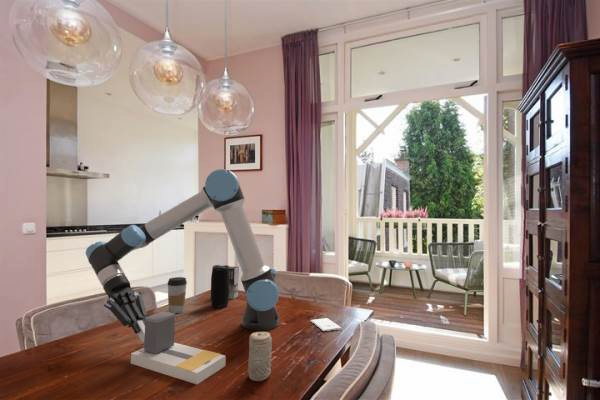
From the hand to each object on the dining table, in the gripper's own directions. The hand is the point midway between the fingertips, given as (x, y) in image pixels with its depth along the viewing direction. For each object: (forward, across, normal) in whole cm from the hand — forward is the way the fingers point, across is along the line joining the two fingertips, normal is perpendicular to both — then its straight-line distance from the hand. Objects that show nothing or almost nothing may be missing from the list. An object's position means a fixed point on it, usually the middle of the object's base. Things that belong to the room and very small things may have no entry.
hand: (146, 339), depth 104 cm
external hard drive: (+33, -54, +24) cm, 67 cm away
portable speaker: (-7, -54, -14) cm, 56 cm away
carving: (+31, -5, +24) cm, 40 cm away
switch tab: (+5, 0, +3) cm, 6 cm away
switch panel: (+13, 0, +6) cm, 14 cm away
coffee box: (-12, -70, -19) cm, 74 cm away
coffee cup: (-15, -38, -22) cm, 46 cm away
